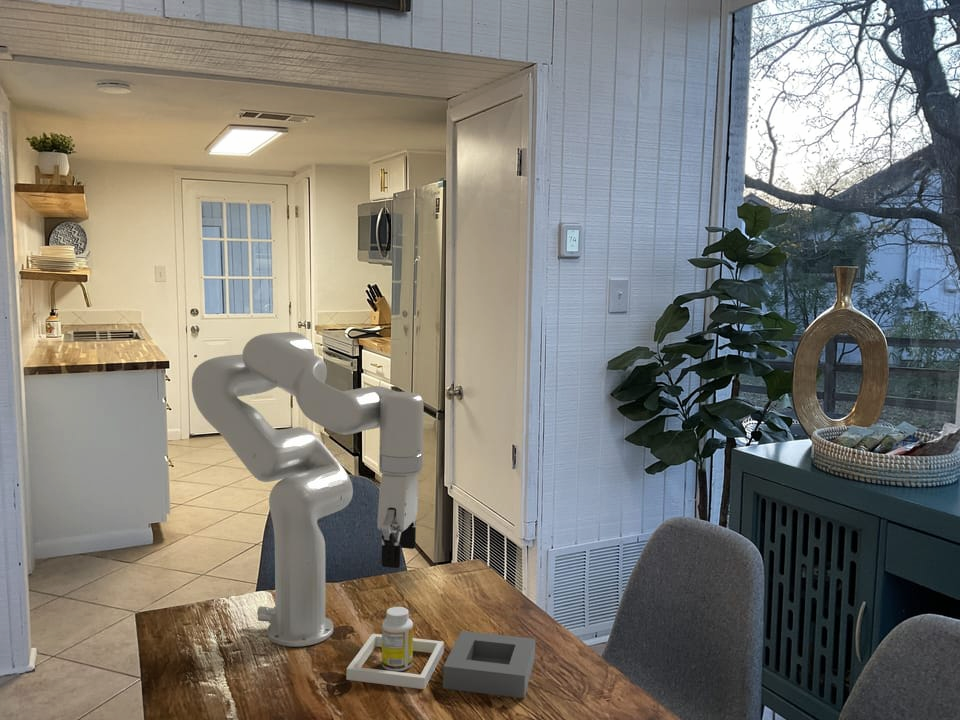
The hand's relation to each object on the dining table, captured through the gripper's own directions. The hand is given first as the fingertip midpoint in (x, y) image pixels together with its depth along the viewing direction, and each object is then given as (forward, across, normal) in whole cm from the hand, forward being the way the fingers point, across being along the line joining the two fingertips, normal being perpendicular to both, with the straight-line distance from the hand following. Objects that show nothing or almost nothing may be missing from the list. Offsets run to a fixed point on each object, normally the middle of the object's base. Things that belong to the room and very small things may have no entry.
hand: (399, 557), depth 144 cm
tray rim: (+20, 0, 0) cm, 20 cm away
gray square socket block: (+20, -1, +17) cm, 26 cm away
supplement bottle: (+20, 0, 0) cm, 20 cm away
